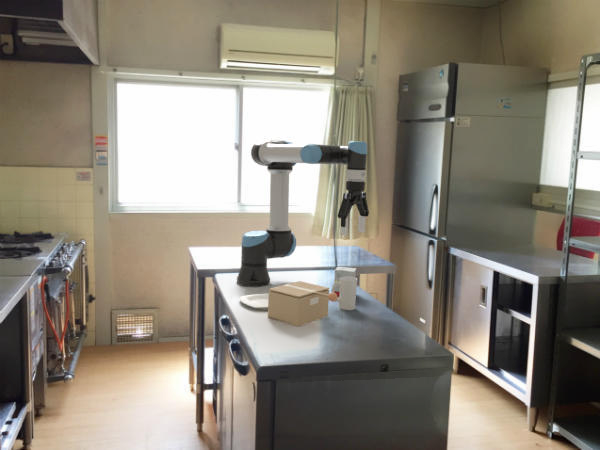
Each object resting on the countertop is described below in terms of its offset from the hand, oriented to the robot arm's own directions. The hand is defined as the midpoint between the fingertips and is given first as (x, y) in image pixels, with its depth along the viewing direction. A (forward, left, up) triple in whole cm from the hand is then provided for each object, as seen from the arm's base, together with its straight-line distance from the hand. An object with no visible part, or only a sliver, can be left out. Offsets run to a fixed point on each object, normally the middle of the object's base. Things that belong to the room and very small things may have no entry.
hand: (352, 233), depth 227 cm
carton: (-2, -30, -29) cm, 42 cm away
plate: (-22, -26, -29) cm, 45 cm away
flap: (+2, -30, -20) cm, 36 cm away
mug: (+3, -8, -29) cm, 30 cm away
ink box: (-8, +9, -29) cm, 31 cm away
